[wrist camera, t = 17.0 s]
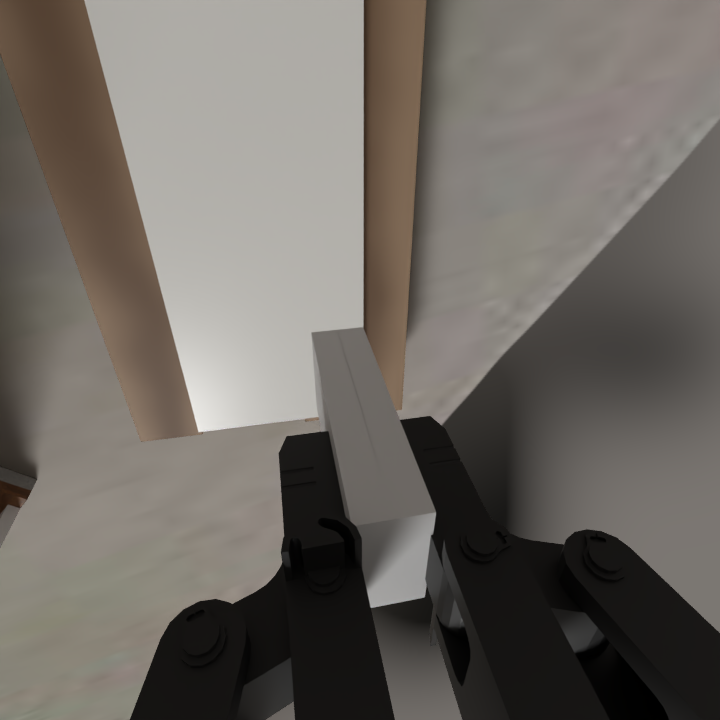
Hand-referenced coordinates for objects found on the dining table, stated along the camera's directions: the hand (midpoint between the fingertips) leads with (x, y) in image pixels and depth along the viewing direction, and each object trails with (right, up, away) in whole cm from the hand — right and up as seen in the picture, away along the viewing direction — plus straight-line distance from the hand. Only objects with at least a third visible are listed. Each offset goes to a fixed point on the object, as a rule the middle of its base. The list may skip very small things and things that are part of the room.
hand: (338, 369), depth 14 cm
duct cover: (-5, +7, +11) cm, 14 cm away
